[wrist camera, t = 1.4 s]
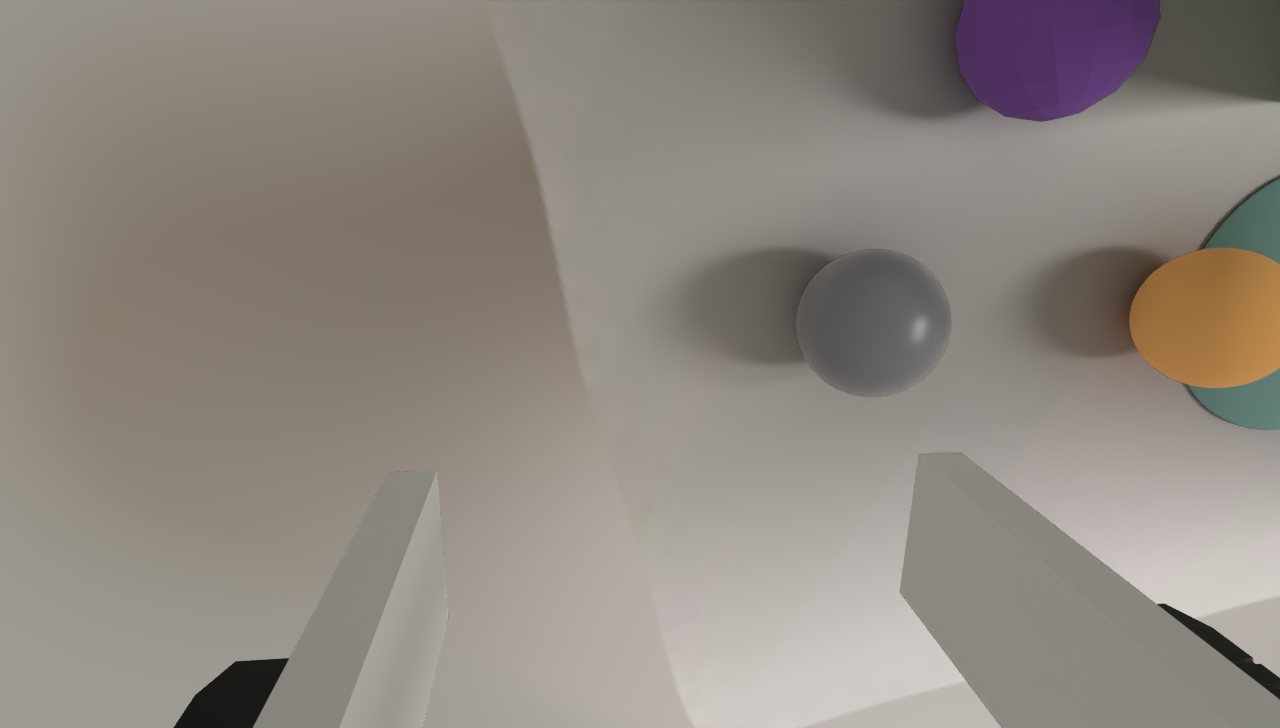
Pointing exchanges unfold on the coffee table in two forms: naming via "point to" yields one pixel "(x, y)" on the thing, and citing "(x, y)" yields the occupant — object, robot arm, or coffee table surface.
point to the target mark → (1276, 230)
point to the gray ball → (873, 322)
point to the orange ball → (1210, 318)
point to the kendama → (1051, 52)
